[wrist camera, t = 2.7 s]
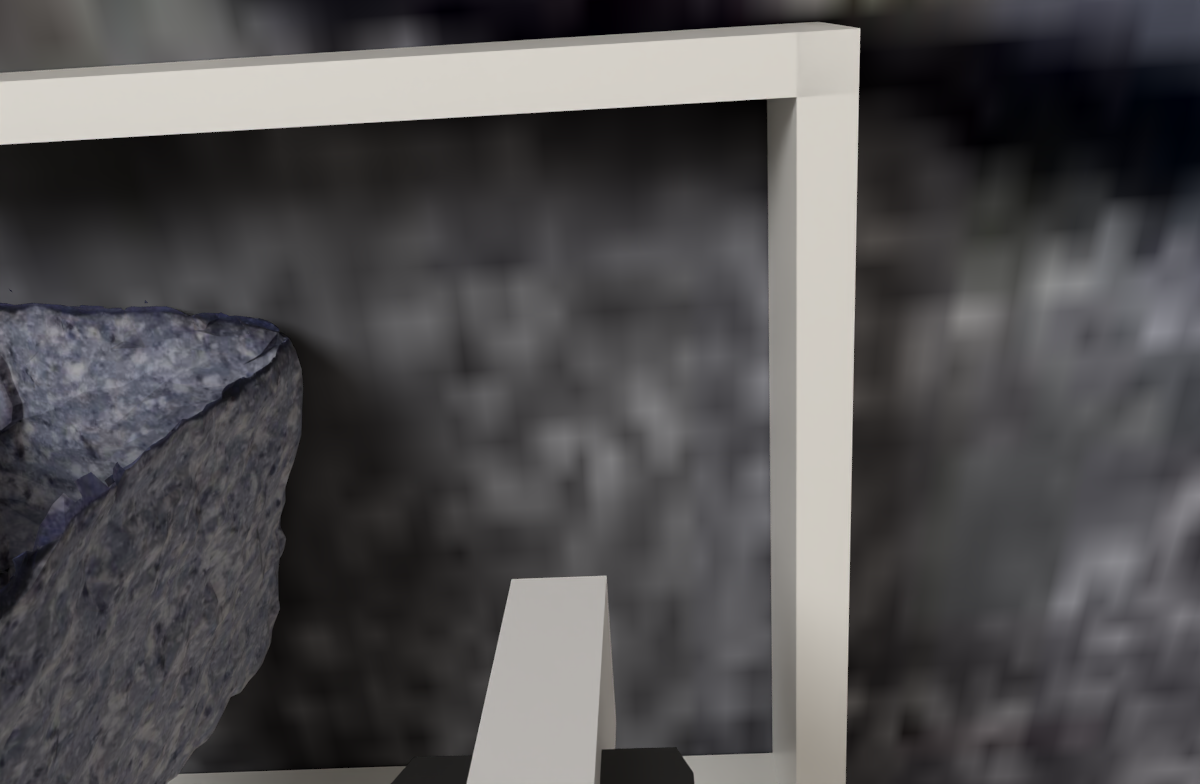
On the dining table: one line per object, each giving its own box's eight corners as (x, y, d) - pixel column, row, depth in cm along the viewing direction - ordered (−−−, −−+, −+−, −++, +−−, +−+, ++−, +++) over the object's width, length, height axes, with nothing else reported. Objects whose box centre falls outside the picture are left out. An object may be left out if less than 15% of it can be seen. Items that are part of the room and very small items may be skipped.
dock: (45, 811, 28) (-44, 937, 24) (-163, 82, 22) (-325, 101, 18) (813, 784, 27) (843, 910, 24) (818, 21, 21) (860, 28, 17)
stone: (-26, 185, 24) (373, 252, 22) (76, 537, 30) (410, 628, 27) (-733, 478, 15) (-175, 666, 12) (-399, 926, 20) (47, 1132, 17)
